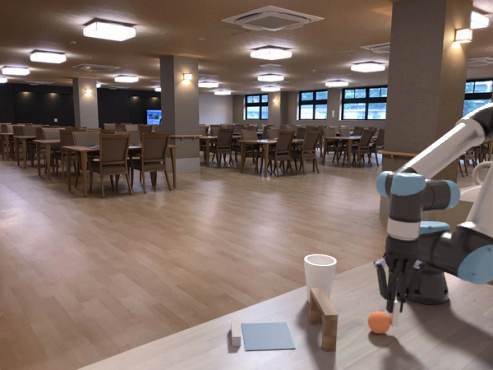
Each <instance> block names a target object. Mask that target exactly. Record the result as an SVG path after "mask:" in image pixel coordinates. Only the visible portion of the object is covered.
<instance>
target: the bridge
mask: <svg viewBox="0 0 493 370" xmlns="http://www.w3.org/2000/svg"><path fill="white" fill-rule="evenodd" d="M338 320H339V314H338V312H337V311H336V309H335V308H334V305H333V304H332V303H331V301H330V300H329V299H328V298H327V296H326V295H325V293H324V291H323V290H322V288H310V303H309V310H308V321H309V323H310V324H322V326H321V327H322V329H321V343H320V344H321V345H320V347H321V348H322V351H323V352H328V351H329V352H330V351H337V339H338V323H339V321H338Z"/></svg>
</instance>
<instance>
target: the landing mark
mask: <svg viewBox="0 0 493 370" xmlns="http://www.w3.org/2000/svg"><path fill="white" fill-rule="evenodd" d="M241 328H242V336H243V341H244V348H245V349H244V350H245V352H248V351H251V352H252V351H271V350H272V351H274V350H296V345H295V342H294V340H293V337H292V335H291V331H290V328H289V326H288V323H287V321H284V322H283V321H282V322H281V321H279V322H253V323H252V322H250V323H246V322H245V323H241Z"/></svg>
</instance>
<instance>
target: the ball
mask: <svg viewBox="0 0 493 370" xmlns="http://www.w3.org/2000/svg"><path fill="white" fill-rule="evenodd" d="M367 325H368V328H369V329H370V330H371V331H372V332H373V333H375V334H379V335H381V334H382V335H383V334H385V333H387V332H388V331H389V329H390V327H391V324H390V320H389V317H388V315H387V314H386V313H384V312H383V311H381V310H380V311H378V310H376V311H374V312H371V313H370V314H369V316H368V318H367Z"/></svg>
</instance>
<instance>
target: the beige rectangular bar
mask: <svg viewBox="0 0 493 370" xmlns="http://www.w3.org/2000/svg"><path fill="white" fill-rule="evenodd" d="M230 335H231V344H232V347H241V346H242V344H241V343H242V336H241V327H240V321H239V319H230Z"/></svg>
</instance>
